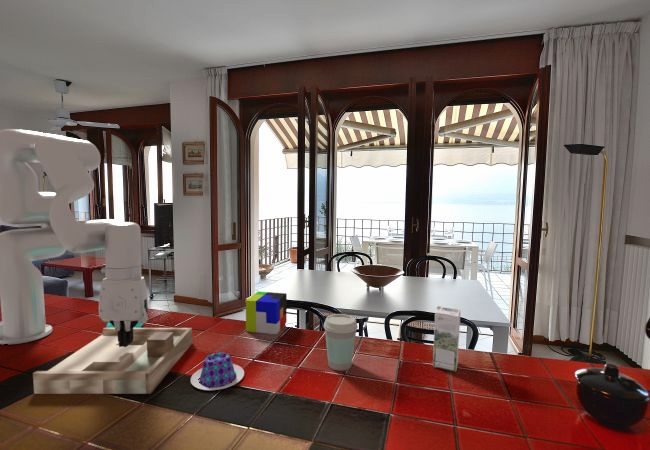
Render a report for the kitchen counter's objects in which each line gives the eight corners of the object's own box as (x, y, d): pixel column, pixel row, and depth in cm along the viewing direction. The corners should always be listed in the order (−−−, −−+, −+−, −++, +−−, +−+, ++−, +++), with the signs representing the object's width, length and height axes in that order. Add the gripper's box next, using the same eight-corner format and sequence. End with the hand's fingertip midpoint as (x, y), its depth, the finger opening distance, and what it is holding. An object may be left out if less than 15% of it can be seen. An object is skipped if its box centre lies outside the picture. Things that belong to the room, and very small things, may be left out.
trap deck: (34, 393, 74) (32, 373, 73) (105, 342, 99) (104, 327, 98) (150, 393, 74) (150, 373, 74) (192, 343, 99) (192, 327, 99)
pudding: (236, 361, 89) (236, 342, 89) (251, 384, 79) (250, 362, 79) (186, 373, 83) (186, 352, 83) (195, 399, 73) (195, 375, 73)
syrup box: (458, 362, 90) (460, 308, 89) (456, 373, 85) (459, 315, 83) (435, 357, 92) (437, 304, 91) (432, 367, 87) (434, 311, 86)
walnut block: (147, 357, 84) (146, 339, 84) (155, 349, 89) (155, 332, 88) (166, 357, 84) (165, 339, 84) (173, 349, 89) (173, 332, 88)
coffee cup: (363, 364, 88) (364, 319, 87) (341, 377, 82) (342, 328, 81) (338, 353, 94) (338, 310, 93) (316, 365, 88) (316, 319, 86)
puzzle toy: (276, 334, 106) (276, 302, 105) (245, 331, 108) (245, 300, 107) (286, 322, 116) (286, 293, 115) (258, 320, 118) (258, 291, 117)
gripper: (82, 275, 81) (85, 350, 83) (147, 277, 81) (148, 352, 83) (102, 268, 88) (104, 337, 90) (161, 270, 89) (162, 338, 91)
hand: (125, 344), depth 87 cm, fingers closed
